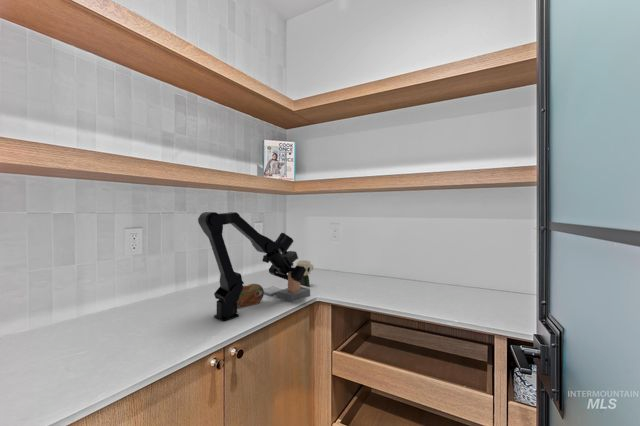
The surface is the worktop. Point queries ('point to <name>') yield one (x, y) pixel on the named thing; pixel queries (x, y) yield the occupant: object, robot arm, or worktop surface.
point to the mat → (271, 291)
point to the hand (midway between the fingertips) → (295, 281)
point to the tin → (250, 295)
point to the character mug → (308, 269)
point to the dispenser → (293, 294)
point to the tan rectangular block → (292, 284)
